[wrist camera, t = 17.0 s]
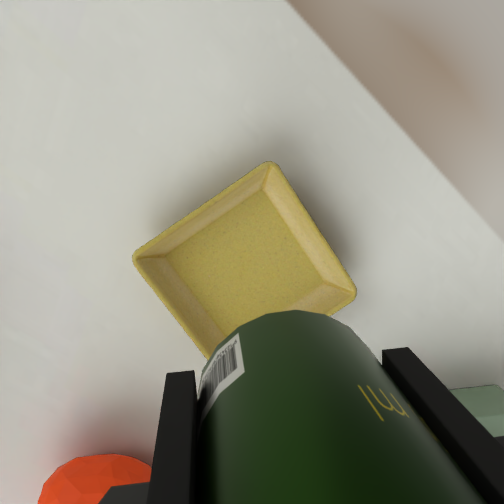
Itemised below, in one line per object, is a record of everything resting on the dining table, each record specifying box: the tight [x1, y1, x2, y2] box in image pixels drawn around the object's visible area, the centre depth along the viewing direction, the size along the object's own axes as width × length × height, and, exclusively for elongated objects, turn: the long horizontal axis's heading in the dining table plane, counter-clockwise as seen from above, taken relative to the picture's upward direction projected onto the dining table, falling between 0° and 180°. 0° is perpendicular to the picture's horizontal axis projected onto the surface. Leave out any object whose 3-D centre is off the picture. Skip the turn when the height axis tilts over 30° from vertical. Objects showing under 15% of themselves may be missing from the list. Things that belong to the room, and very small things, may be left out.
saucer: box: [132, 161, 357, 360], centre depth 25 cm, size 9×9×2 cm
